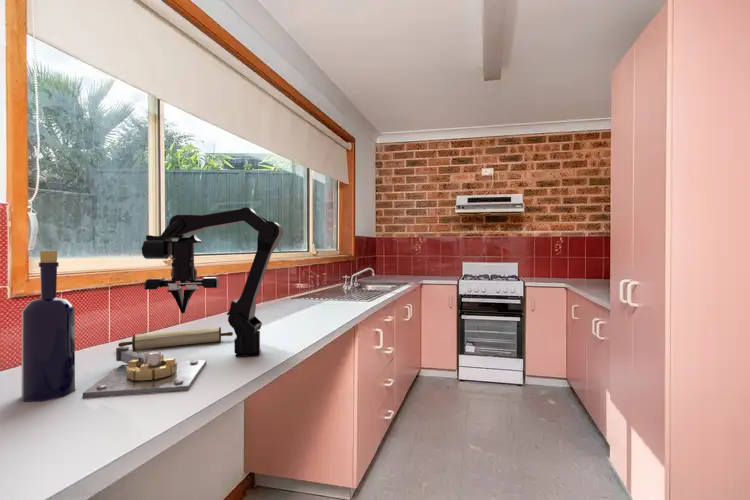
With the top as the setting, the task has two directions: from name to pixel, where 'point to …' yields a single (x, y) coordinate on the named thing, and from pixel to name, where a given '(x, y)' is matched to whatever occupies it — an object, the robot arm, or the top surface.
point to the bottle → (48, 340)
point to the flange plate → (122, 385)
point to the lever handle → (144, 365)
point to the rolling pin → (175, 338)
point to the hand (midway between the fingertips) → (183, 313)
